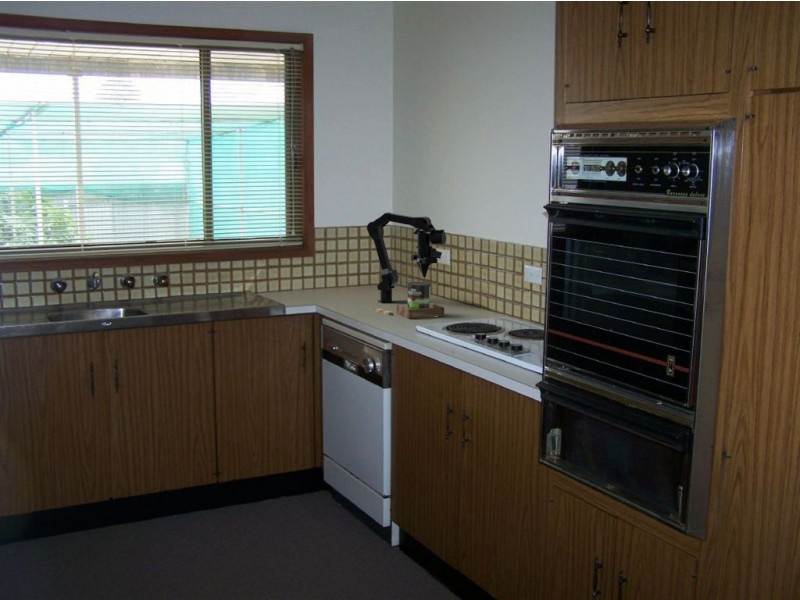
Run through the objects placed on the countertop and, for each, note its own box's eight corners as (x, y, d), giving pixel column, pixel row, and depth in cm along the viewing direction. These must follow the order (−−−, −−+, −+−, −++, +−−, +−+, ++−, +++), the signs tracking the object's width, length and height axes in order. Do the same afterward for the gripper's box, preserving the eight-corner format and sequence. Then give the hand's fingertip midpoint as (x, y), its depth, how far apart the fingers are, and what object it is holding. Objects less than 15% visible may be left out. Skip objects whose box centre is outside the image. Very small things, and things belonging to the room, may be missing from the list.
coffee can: (423, 317, 400) (423, 285, 397) (403, 315, 405) (403, 283, 403) (434, 314, 408) (435, 282, 406) (414, 312, 414) (414, 281, 411)
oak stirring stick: (373, 311, 417) (373, 308, 417) (377, 311, 418) (377, 307, 418) (389, 316, 406) (389, 312, 405) (392, 315, 407) (392, 312, 406)
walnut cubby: (396, 313, 410) (396, 304, 409) (430, 311, 416) (430, 302, 415) (409, 319, 396) (409, 310, 395) (444, 316, 402) (444, 307, 401)
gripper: (447, 244, 423) (448, 278, 425) (432, 241, 440) (432, 273, 442) (425, 245, 419) (425, 279, 421) (410, 242, 436) (410, 275, 439)
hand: (424, 277), depth 431 cm, fingers closed
